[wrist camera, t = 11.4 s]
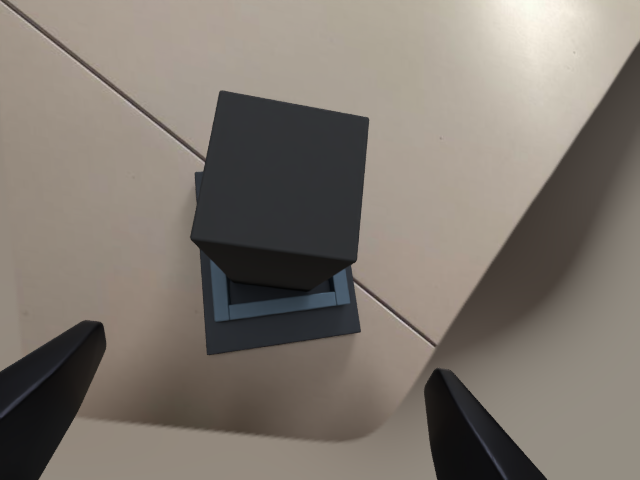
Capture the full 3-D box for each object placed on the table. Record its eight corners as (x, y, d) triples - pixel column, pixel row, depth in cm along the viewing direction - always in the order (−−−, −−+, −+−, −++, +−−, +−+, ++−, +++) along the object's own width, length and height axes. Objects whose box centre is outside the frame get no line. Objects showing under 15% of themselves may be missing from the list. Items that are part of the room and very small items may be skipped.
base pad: (357, 331, 22) (368, 333, 20) (209, 353, 21) (201, 358, 18) (333, 168, 24) (340, 152, 22) (197, 177, 23) (188, 161, 20)
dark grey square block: (308, 291, 21) (357, 262, 10) (232, 282, 21) (189, 239, 9) (316, 221, 22) (370, 116, 11) (245, 210, 22) (219, 88, 10)
